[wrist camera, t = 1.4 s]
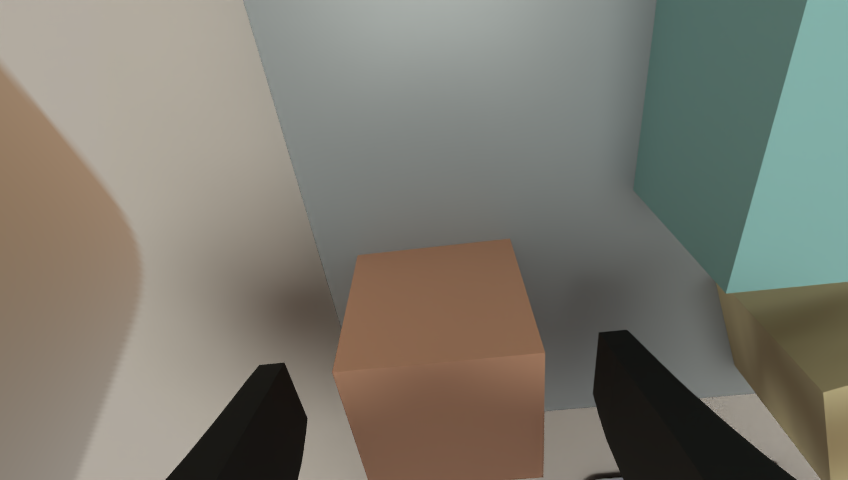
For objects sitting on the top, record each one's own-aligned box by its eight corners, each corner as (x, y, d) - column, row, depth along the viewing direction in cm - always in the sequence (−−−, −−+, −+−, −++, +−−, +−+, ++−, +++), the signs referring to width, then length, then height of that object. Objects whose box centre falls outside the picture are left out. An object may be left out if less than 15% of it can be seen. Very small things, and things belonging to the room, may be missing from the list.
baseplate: (830, 356, 16) (859, 384, 15) (373, 397, 17) (370, 426, 16) (1412, -866, 5) (1645, -1059, 4) (107, -557, 6) (47, -655, 5)
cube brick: (513, 349, 14) (543, 477, 11) (383, 361, 14) (371, 489, 11) (510, 238, 12) (545, 353, 8) (357, 255, 12) (332, 372, 9)
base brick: (805, 170, 11) (980, 268, 7) (633, 190, 11) (726, 294, 8) (976, -339, 7) (1549, -641, 3) (691, -287, 7) (952, -520, 4)
